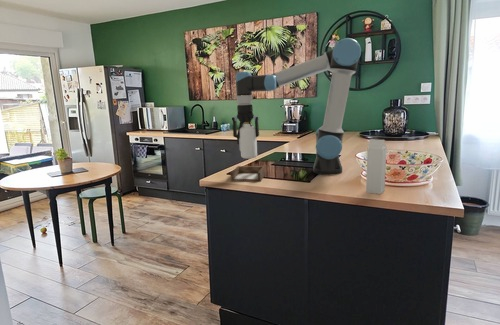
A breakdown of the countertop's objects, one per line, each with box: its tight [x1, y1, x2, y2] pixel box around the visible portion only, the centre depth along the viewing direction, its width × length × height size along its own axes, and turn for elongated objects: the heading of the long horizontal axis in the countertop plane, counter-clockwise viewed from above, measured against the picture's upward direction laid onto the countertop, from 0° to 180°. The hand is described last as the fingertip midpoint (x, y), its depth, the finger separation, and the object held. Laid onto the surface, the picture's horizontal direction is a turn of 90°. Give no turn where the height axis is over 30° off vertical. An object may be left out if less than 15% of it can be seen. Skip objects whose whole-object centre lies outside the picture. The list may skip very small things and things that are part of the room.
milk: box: [365, 138, 387, 195], centre depth 130 cm, size 6×6×22 cm
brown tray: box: [230, 165, 266, 183], centre depth 163 cm, size 15×14×4 cm
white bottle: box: [240, 121, 258, 160], centre depth 159 cm, size 8×8×18 cm
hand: (246, 150), depth 160 cm, fingers open, 5 cm apart
